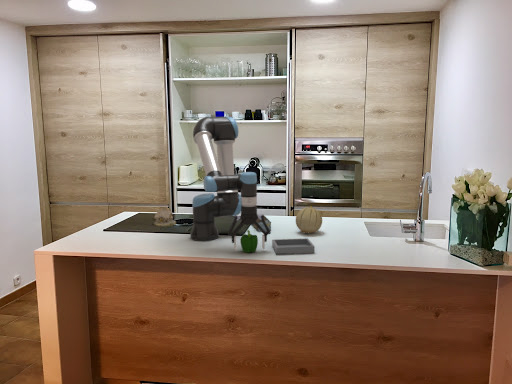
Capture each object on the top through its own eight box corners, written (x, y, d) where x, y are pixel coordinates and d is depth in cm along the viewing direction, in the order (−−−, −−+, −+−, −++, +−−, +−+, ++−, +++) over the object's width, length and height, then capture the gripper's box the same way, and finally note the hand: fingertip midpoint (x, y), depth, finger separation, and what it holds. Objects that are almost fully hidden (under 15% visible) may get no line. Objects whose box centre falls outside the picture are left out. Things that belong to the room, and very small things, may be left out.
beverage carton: (257, 232, 232) (257, 221, 231) (251, 225, 251) (250, 214, 250) (271, 231, 234) (271, 220, 233) (263, 224, 253) (263, 213, 252)
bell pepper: (256, 254, 191) (256, 233, 190) (239, 253, 193) (238, 233, 191) (259, 249, 200) (259, 229, 198) (242, 248, 201) (242, 228, 199)
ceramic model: (150, 225, 250) (149, 209, 249) (160, 221, 261) (159, 206, 259) (170, 227, 246) (169, 211, 244) (179, 223, 256) (179, 207, 255)
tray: (276, 254, 191) (276, 247, 190) (272, 246, 204) (272, 239, 204) (314, 253, 192) (314, 246, 192) (307, 245, 206) (307, 238, 206)
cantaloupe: (295, 236, 224) (295, 209, 221) (296, 229, 238) (296, 204, 236) (322, 236, 222) (322, 209, 219) (321, 230, 236) (322, 204, 234)
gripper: (222, 207, 188) (223, 252, 191) (276, 206, 190) (276, 250, 194) (222, 204, 195) (223, 247, 199) (274, 203, 198) (274, 245, 201)
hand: (249, 248), depth 196 cm, fingers open, 13 cm apart
